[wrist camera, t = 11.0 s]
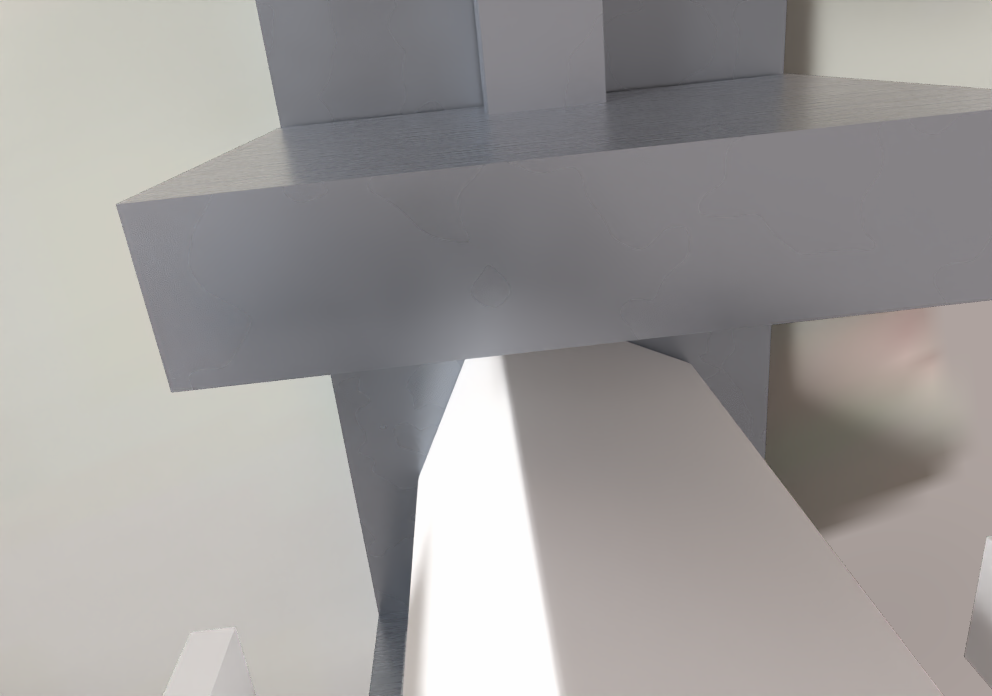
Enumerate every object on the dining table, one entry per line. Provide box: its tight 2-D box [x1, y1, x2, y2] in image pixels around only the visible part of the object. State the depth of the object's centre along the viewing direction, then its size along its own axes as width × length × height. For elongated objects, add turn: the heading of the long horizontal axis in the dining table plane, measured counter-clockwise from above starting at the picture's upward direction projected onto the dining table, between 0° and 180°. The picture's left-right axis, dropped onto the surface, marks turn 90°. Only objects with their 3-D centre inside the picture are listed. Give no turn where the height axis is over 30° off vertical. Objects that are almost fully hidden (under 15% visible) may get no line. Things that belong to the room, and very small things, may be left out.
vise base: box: [256, 0, 787, 696], centre depth 16 cm, size 12×25×10 cm, turn 5°
